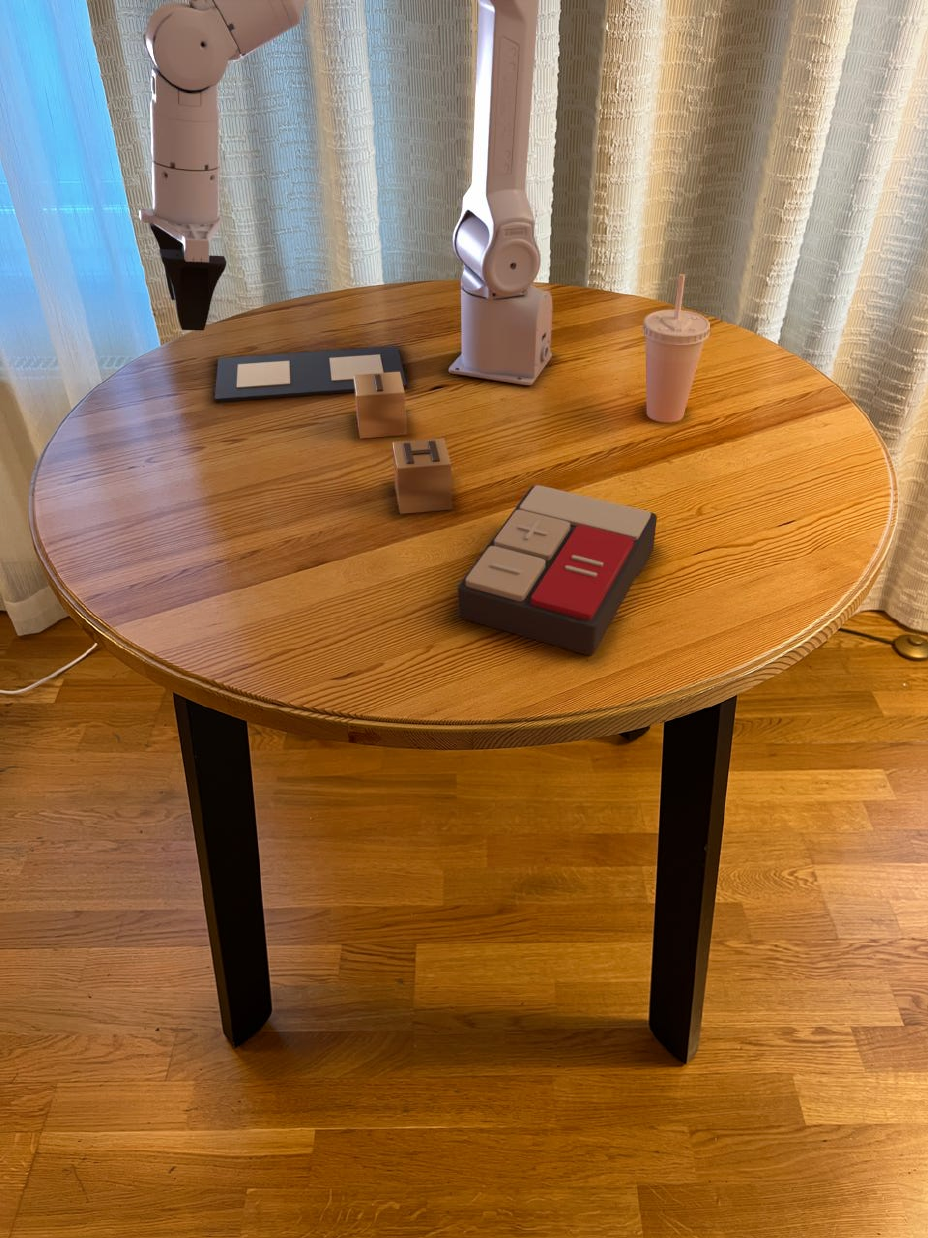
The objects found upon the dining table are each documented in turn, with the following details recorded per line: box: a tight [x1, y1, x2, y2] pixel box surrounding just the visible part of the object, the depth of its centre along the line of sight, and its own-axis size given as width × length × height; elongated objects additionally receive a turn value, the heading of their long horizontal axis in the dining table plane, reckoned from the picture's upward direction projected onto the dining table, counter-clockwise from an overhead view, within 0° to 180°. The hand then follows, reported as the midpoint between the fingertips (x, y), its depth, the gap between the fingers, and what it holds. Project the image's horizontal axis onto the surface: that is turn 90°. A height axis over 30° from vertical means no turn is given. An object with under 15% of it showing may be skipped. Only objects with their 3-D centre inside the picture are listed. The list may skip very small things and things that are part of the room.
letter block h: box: [392, 437, 453, 515], centre depth 90 cm, size 5×5×5 cm
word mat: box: [214, 345, 408, 403], centre depth 111 cm, size 20×10×1 cm, turn 98°
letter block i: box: [354, 372, 408, 440], centre depth 100 cm, size 5×5×5 cm
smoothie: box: [641, 273, 711, 424], centre depth 99 cm, size 6×6×14 cm
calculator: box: [457, 484, 658, 656], centre depth 80 cm, size 11×4×15 cm
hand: (187, 313), depth 97 cm, fingers open, 7 cm apart
